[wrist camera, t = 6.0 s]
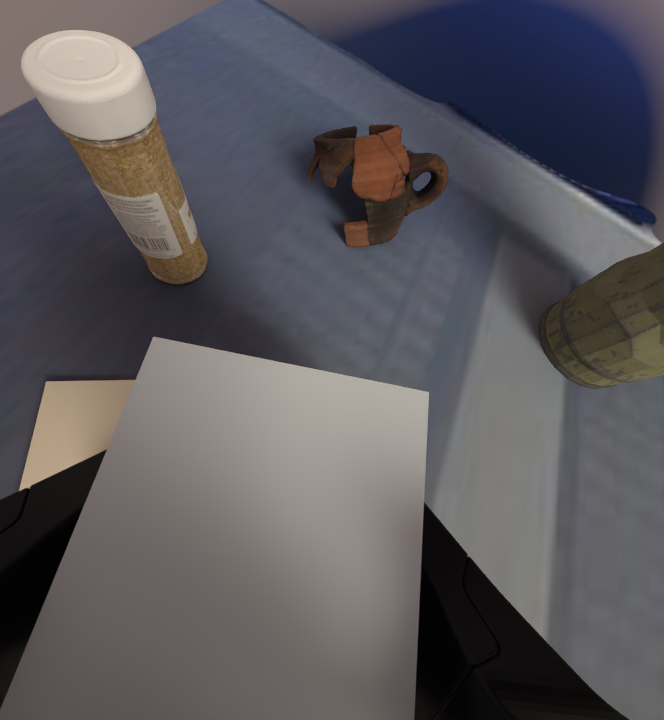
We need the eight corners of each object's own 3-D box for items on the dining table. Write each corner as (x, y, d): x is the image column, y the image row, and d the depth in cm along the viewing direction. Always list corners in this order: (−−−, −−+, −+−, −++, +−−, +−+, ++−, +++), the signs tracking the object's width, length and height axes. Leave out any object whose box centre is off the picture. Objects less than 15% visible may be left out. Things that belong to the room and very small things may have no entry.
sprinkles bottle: (219, 255, 26) (163, 54, 14) (187, 296, 24) (90, 110, 12) (170, 231, 26) (70, 10, 14) (135, 270, 25) (-16, 59, 12)
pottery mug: (314, 256, 28) (298, 147, 23) (319, 219, 35) (308, 129, 30) (451, 243, 27) (469, 126, 22) (429, 208, 34) (438, 112, 29)
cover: (349, 609, 15) (575, 1038, 3) (151, 582, 14) (-391, 1021, 3) (371, 417, 18) (521, 320, 7) (211, 387, 17) (84, 221, 6)
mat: (265, 607, 18) (264, 611, 18) (-13, 645, 16) (-22, 651, 16) (266, 379, 23) (266, 377, 23) (51, 383, 21) (46, 381, 20)
